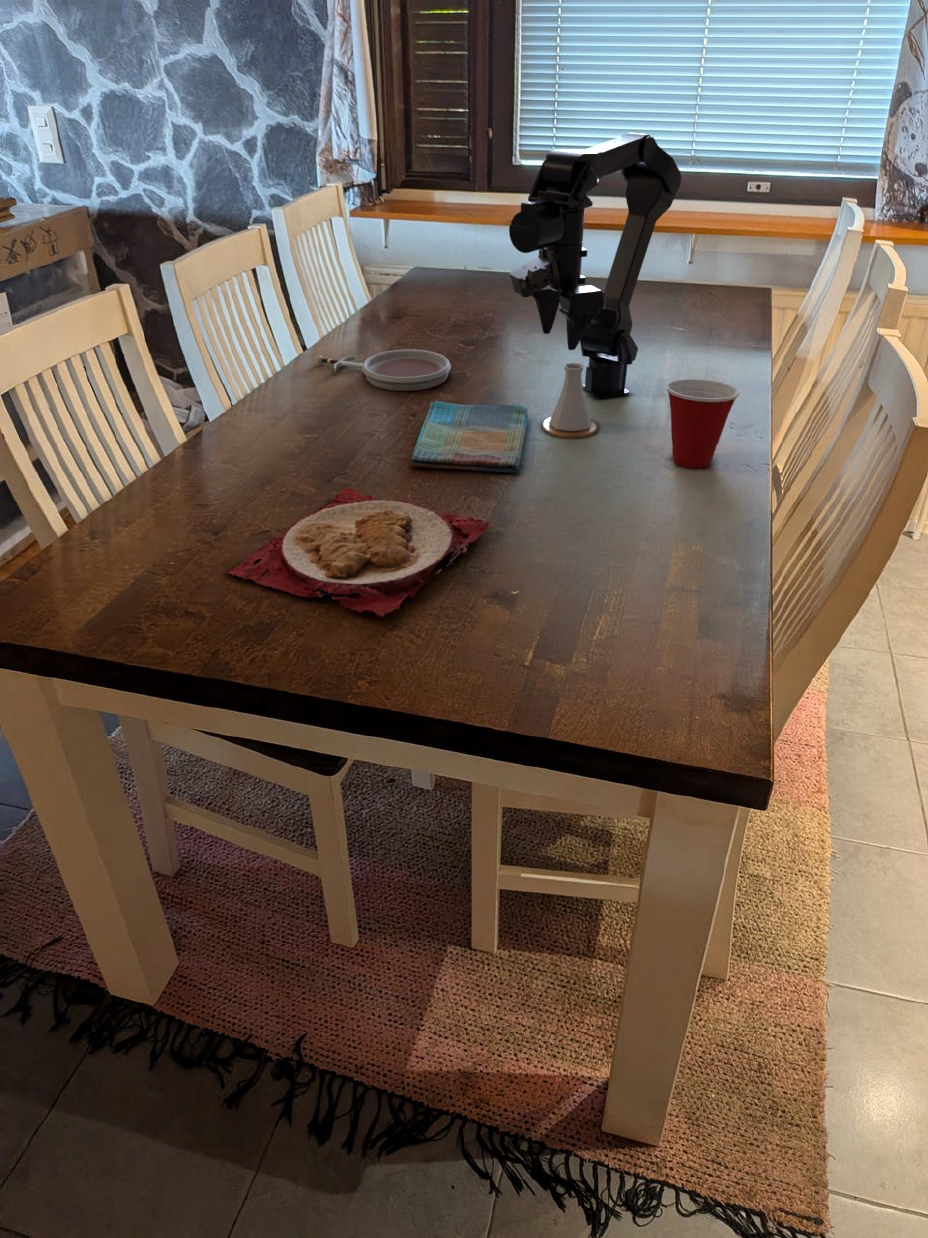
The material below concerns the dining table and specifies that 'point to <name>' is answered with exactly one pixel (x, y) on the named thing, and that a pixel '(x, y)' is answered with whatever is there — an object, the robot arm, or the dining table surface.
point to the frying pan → (400, 369)
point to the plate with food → (361, 551)
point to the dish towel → (472, 437)
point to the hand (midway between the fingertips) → (558, 341)
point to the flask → (571, 402)
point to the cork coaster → (569, 434)
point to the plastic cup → (698, 418)
